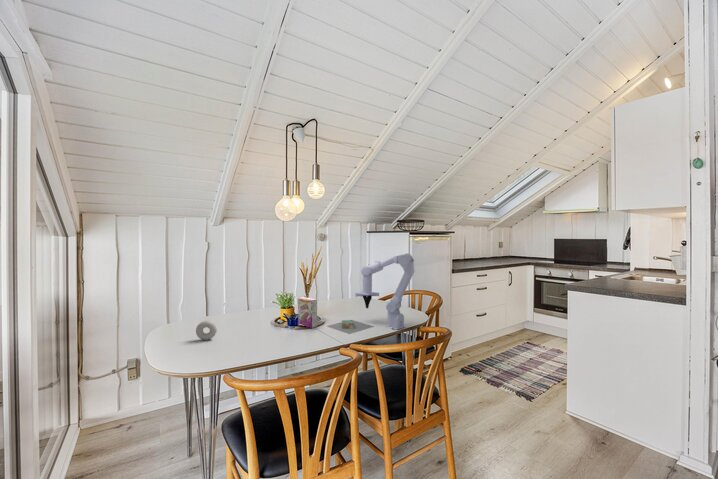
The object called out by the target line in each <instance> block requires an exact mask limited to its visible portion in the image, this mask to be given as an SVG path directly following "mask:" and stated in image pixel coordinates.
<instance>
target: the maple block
mask: <svg viewBox="0 0 718 479" xmlns="http://www.w3.org/2000/svg"><path fill="white" fill-rule="evenodd" d="M354 321H355V320H354V319H346V320H345V319H343V320H341V322H342V329H346V328H354Z"/></svg>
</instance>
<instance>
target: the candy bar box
mask: <svg viewBox="0 0 718 479" xmlns="http://www.w3.org/2000/svg"><path fill="white" fill-rule="evenodd" d="M298 323H299V324H303V325H305V326H306V327H305V328H308V329H314V328H316V327H318V299H316V298H311V297H305V296H301V297H298V298H297V324H298Z"/></svg>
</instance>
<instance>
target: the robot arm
mask: <svg viewBox="0 0 718 479" xmlns="http://www.w3.org/2000/svg"><path fill="white" fill-rule="evenodd" d="M414 262H415V259H414V258H413V256H412V254H411V253H404V254H400V255H395V256H393V257H391V258H388V259H386V260H384V261H380V260H375V261H374V262H373V263H371V264H368V265H367V266H365V265H364V266H363V267H362V268H360V269H361V270H360V272H361V275H362V292H355V293H354V296H355V297H362V298H363V301H364V303H365V304H364V305H365V309H369V306H370V302H371V301H372V299H373V298H372V297H380V292H373V274H376V273H378V272H381V271H383V269H384V267H387V266H388V267H389V266H391V265H393V264H397V265H399V266H400V267H401V268H402V269H403V271H404V273H403V274H402V277H401V279H400V281H399V283H398V286H397V288H396V290H395V292H394V293H393V296H392V297H391V299H390V301H389V302H387V303H386V306H385V309H386V311H387V321H386V322H387V324H386V325H387V326H388V327H387V328H389V327H390V329H392V328H393V329H392V330H395V329H396V331H397V330H400V328H401V329H403V327H404V328H406V327H405V316H404V314H403V313H401V311H400V309H401V307H402V301H403V297H404V294H405V292H406V291H407V289H408V287H409V284H410V282H411V280H412V278H413V276H414V273H415V265H414V264H415V263H414ZM391 327H392V328H391Z"/></svg>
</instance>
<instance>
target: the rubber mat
mask: <svg viewBox="0 0 718 479" xmlns="http://www.w3.org/2000/svg"><path fill="white" fill-rule="evenodd" d="M326 327H328V328H330V329H333V330H336V331H339V332H342V333H345V334H349V335H351V334H355V333H358V332H361V331H365V330H369V329H371V328H375V326H373V325H370V324H367V323H363V322H360V321H357V320H354V328H346V329H342V321H341V322H337V323H334V324H329V325H326Z"/></svg>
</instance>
